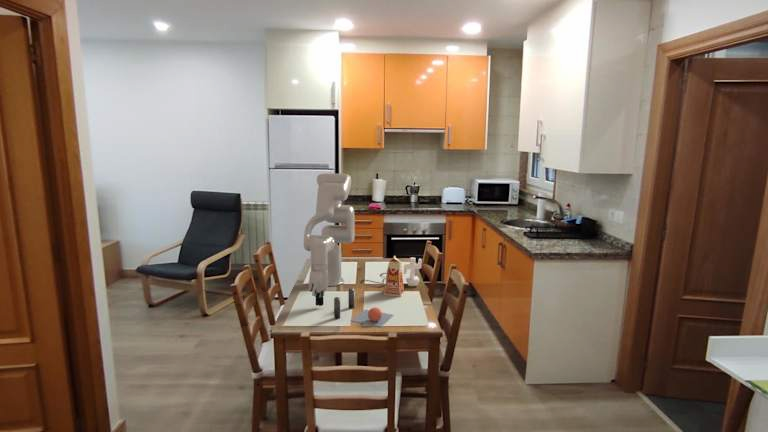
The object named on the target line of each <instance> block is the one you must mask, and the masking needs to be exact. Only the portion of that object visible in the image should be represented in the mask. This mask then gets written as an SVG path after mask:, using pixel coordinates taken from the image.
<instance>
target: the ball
mask: <svg viewBox="0 0 768 432" xmlns="http://www.w3.org/2000/svg"><path fill="white" fill-rule="evenodd" d="M368 310H369V312H368V317H369V319H370V320H371V321H373V322H376V321H379V320H380V319H381V317H382V313H383V312H382V310H381V309H380V308H379V307H376V306H375V307H374V306H373V307H371V308H370V309H368Z"/></svg>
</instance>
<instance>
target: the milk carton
mask: <svg viewBox="0 0 768 432" xmlns="http://www.w3.org/2000/svg"><path fill="white" fill-rule="evenodd" d="M386 273H387V274H386V279H385V284H384V290H383V296H392V297H402V296H403V294H404V292H405V289H404V278H403V277H404V276H403V268H402V261H401V260H400V259H398V258H397V257H396V255H393V257H392V259H390V260H389V262H388V266H387V269H386Z"/></svg>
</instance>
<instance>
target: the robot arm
mask: <svg viewBox="0 0 768 432" xmlns="http://www.w3.org/2000/svg"><path fill="white" fill-rule="evenodd" d="M316 183H317V186H318V188H317V193H316V195H317V197H316V208H315V214H314V215H313V216H312V217H311V218H310V219H309V220H308V222H307V223H306V226H305V229H304V232H303V248H304V250H305V251H307V252H310V272H309V279H308V292H311V295H312V296H313V297H315V306H319V307H321V306H323V305H324V296H325V291H326V290H327V289H328V287H336V286H341V285H343V284H345V279H344V278H342V250H341V247H340V246H339V244H352V243H354V241H355V237H356V236H355V235H356V233H355V232H356V229H355V228H356V226H355V223H356V221H355V220H356V219H355V217H356V216H355V210H354V207H353V206H352V205H349V204H341V201H342V202H343V201H346V200H347V199H348V197H349V195H350V190H351V187H352V177H351V176H350V175H349V174H348V173H330V172H329V173H325V172H324V173H320V174H318V175H317V176H316ZM322 222H327V223H330V224H329V225H328V224H327V225H325V226H323V227H322V229H321V235H319V234H317V235H315V234H314V235H312V231H313V229H314V228H315V227H316V225H318V224H320V223H322ZM340 224H341V225H340Z"/></svg>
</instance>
